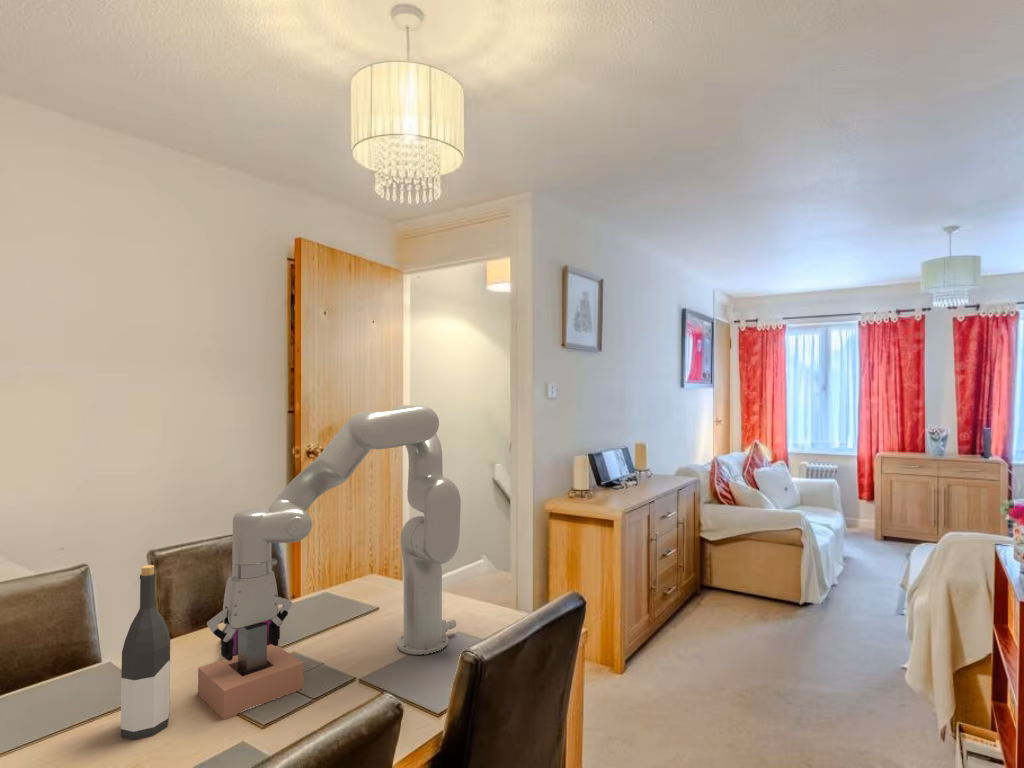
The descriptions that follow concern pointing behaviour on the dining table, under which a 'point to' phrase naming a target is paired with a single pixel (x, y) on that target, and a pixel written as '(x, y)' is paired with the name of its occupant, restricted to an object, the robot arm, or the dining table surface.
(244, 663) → the steel bar
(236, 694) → the well holder
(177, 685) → the dining table surface
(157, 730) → the wine bottle
